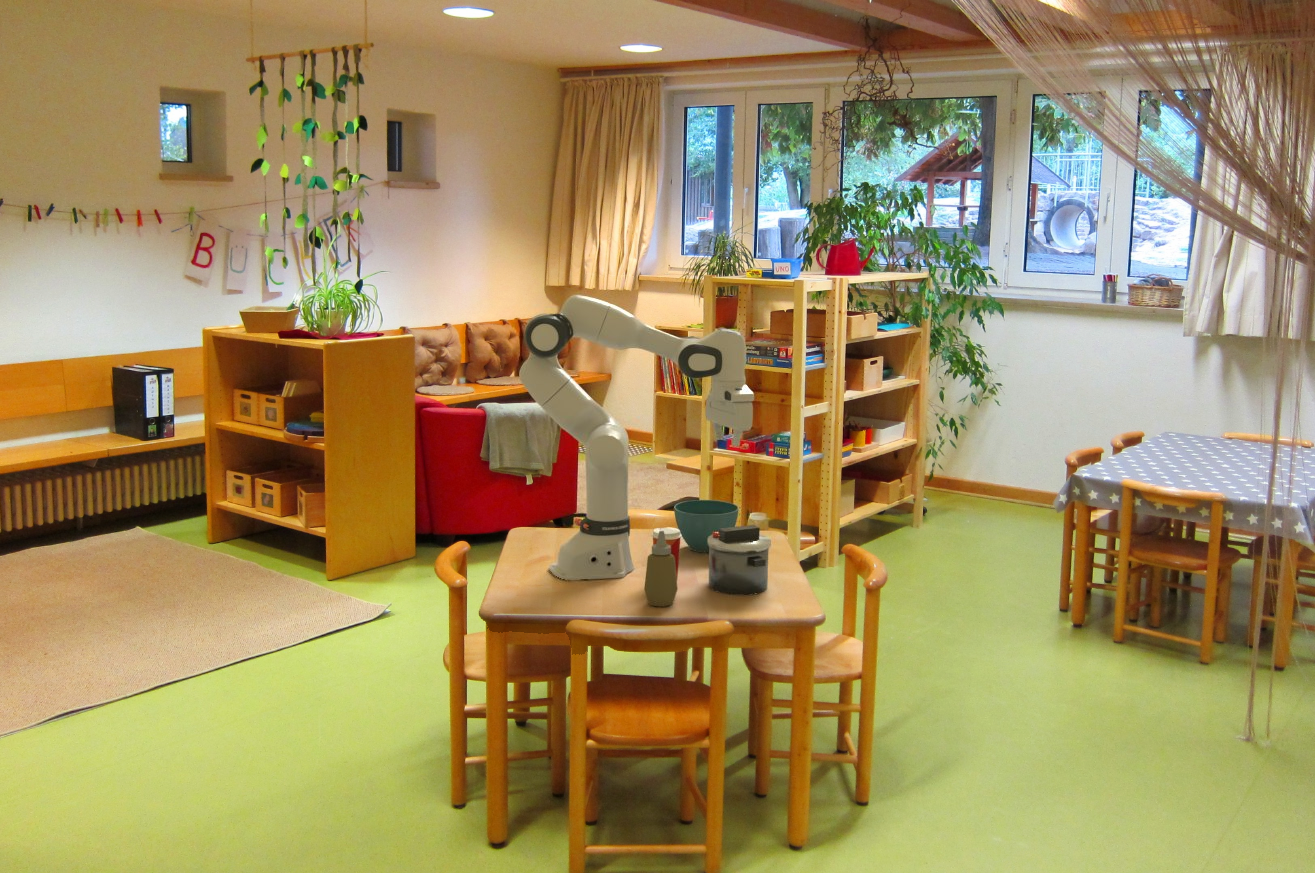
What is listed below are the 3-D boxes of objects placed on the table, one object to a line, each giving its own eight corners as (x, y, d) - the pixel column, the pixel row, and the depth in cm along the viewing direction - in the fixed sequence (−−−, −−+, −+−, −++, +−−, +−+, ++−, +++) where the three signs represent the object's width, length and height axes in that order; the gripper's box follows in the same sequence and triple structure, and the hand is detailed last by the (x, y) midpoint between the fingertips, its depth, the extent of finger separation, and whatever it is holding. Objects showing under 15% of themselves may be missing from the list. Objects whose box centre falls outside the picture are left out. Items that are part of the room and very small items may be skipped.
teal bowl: (660, 547, 330) (660, 505, 328) (705, 536, 342) (706, 496, 340) (705, 561, 317) (705, 518, 315) (750, 549, 329) (751, 507, 327)
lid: (725, 555, 283) (726, 539, 283) (696, 539, 298) (696, 523, 297) (782, 548, 290) (783, 532, 289) (751, 533, 304) (751, 517, 304)
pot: (732, 602, 283) (733, 558, 281) (692, 577, 302) (693, 536, 300) (785, 594, 289) (786, 552, 287) (743, 570, 309) (744, 530, 307)
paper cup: (646, 580, 299) (646, 528, 297) (673, 577, 302) (674, 525, 300) (658, 589, 292) (659, 535, 290) (686, 586, 295) (687, 532, 293)
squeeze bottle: (651, 610, 276) (652, 537, 273) (638, 600, 283) (639, 529, 280) (682, 606, 279) (683, 534, 276) (669, 596, 287) (670, 526, 283)
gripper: (700, 386, 312) (699, 436, 315) (735, 396, 294) (734, 450, 296) (721, 385, 315) (719, 435, 317) (757, 395, 296) (756, 448, 299)
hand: (727, 442), depth 306 cm, fingers open, 8 cm apart
